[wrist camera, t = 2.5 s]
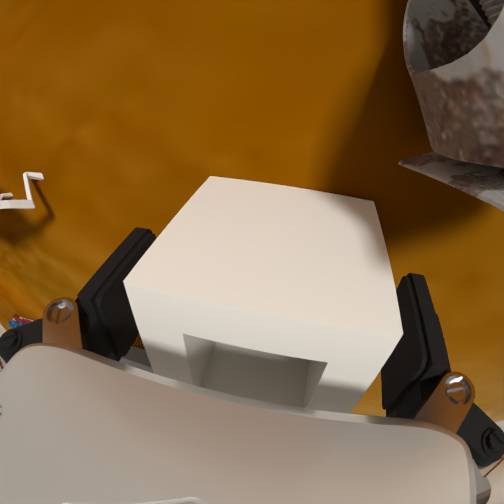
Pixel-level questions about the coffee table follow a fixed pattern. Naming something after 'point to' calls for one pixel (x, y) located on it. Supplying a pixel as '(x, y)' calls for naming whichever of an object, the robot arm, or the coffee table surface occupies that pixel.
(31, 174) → the origami figure
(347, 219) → the collar
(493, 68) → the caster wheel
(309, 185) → the coffee table surface
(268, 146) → the coffee table surface
